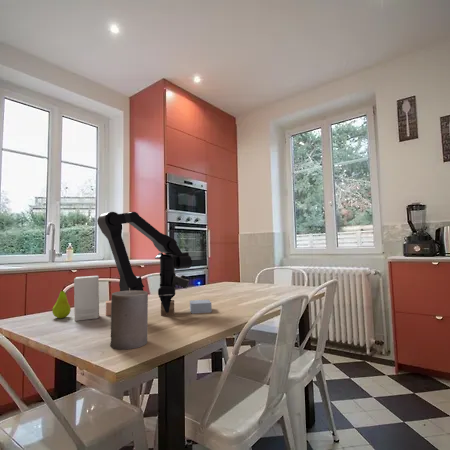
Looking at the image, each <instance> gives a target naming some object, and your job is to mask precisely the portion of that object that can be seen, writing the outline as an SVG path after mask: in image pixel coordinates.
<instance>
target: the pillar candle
mask: <svg viewBox="0 0 450 450" xmlns="http://www.w3.org/2000/svg"><path fill="white" fill-rule="evenodd" d="M110 301H111V315H110V344H109V347H110V348H112V349H115V350H132V349H137V348H140V347H144V346H145V345H148V344H147V343H148V327H149V326H148V323H149V322H148V320H149V319H148V317H149V316H148V311H149V309H148V307H149V306H148V304H149V303H148V301H149V292H148V291H146V290H144V291H137V290H134V291H133V290H132V291H130V288H129V291H120V290H119V291H115V292H112V293H111V300H110Z"/></svg>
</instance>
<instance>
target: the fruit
mask: <svg viewBox="0 0 450 450" xmlns="http://www.w3.org/2000/svg"><path fill="white" fill-rule="evenodd" d="M65 287H66V286H65V285H63V287H62V289H61V290H60V292H59V295H58V297H57V299H56V302H55V303H54V305H53V307H52V309H51V310H52V315H53V316H54V317H55V318H57V319H64V318H66V317H68V316H69V315H70V313H71V310H72V309H71V305H70V303H69V301H68V296H67V294H66V292H65V290H64V289H65Z"/></svg>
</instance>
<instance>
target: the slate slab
mask: <svg viewBox="0 0 450 450" xmlns="http://www.w3.org/2000/svg"><path fill="white" fill-rule="evenodd" d="M212 309H213V308H212V301H210V299H197V300H196V299H195V300H189V311H190V313H192V314H203V313H204V314H205V313H206V314H207V313H212V311H213V310H212Z"/></svg>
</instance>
